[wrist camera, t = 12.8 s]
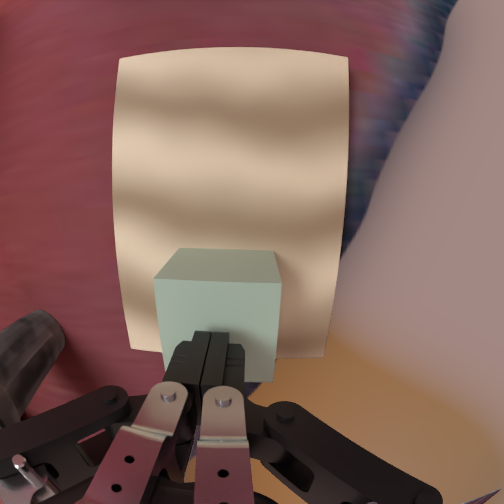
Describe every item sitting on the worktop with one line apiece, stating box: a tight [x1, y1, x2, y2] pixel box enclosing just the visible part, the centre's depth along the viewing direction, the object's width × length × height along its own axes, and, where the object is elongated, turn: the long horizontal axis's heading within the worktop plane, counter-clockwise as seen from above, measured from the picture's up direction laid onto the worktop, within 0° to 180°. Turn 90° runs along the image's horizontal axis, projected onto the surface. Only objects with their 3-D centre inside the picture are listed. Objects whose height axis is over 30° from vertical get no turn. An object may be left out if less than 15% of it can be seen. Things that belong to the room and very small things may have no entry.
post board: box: [112, 47, 349, 358], centre depth 15 cm, size 20×14×6 cm
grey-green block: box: [153, 248, 282, 382], centre depth 15 cm, size 6×6×5 cm
